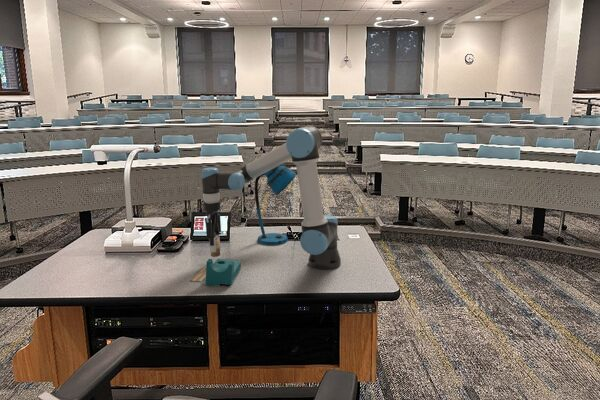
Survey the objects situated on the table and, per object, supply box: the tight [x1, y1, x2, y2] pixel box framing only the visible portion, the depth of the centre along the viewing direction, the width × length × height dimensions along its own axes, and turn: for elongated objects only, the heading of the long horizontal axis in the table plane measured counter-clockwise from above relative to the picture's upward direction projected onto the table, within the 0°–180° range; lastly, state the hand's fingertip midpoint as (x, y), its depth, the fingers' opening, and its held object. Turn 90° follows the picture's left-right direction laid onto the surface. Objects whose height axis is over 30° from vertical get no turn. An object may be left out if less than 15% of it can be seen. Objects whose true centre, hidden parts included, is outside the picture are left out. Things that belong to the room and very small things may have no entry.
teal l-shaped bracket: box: [205, 258, 242, 287], centre depth 210 cm, size 18×11×10 cm, turn 174°
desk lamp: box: [254, 165, 297, 246], centre depth 256 cm, size 16×22×45 cm
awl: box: [210, 232, 221, 258], centre depth 227 cm, size 4×4×11 cm
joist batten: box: [189, 266, 206, 283], centre depth 215 cm, size 5×16×1 cm, turn 168°
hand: (215, 249), depth 228 cm, fingers closed on awl, 4 cm apart
